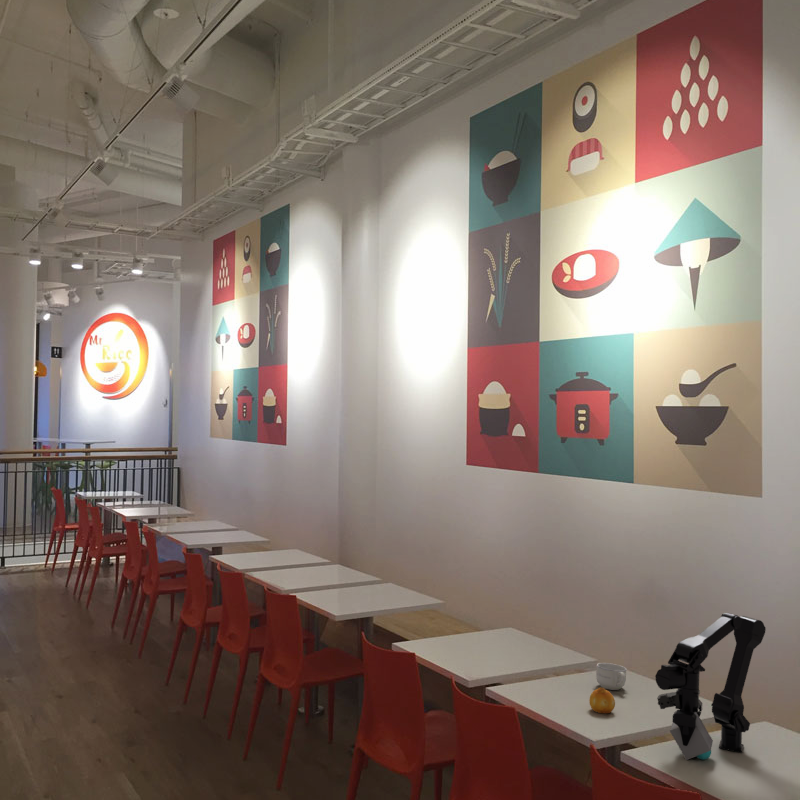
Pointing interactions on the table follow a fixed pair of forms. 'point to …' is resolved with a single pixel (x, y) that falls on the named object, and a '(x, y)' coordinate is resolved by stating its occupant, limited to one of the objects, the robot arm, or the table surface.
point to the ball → (704, 755)
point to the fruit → (602, 701)
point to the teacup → (611, 676)
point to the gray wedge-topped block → (693, 740)
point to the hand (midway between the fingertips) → (687, 741)
